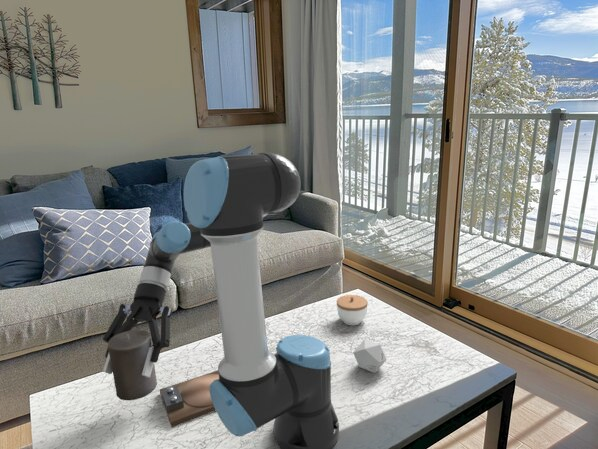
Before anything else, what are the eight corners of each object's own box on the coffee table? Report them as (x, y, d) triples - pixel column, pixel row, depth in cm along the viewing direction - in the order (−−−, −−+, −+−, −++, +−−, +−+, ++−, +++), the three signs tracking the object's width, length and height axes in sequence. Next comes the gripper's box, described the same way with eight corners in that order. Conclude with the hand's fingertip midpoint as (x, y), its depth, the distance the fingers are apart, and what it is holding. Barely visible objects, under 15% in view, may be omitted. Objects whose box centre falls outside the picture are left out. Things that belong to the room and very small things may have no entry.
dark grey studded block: (250, 383, 111) (250, 374, 111) (167, 413, 101) (166, 403, 100) (241, 370, 117) (240, 361, 117) (162, 397, 107) (160, 387, 106)
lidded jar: (351, 311, 153) (351, 287, 150) (373, 321, 145) (374, 297, 142) (330, 320, 146) (330, 296, 144) (352, 332, 138) (352, 306, 136)
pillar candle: (113, 404, 97) (103, 348, 93) (118, 380, 106) (109, 328, 102) (156, 395, 100) (148, 340, 96) (158, 372, 109) (150, 321, 105)
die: (362, 382, 114) (384, 358, 111) (342, 357, 118) (363, 334, 115) (375, 377, 120) (396, 355, 117) (356, 353, 125) (376, 331, 122)
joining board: (256, 395, 109) (255, 389, 108) (171, 427, 99) (170, 420, 98) (237, 368, 121) (236, 363, 120) (160, 394, 110) (159, 388, 110)
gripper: (196, 293, 110) (175, 381, 99) (122, 290, 115) (94, 373, 104) (185, 282, 104) (161, 375, 93) (107, 280, 108) (75, 367, 97)
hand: (126, 374), depth 98 cm, fingers closed on pillar candle, 10 cm apart
